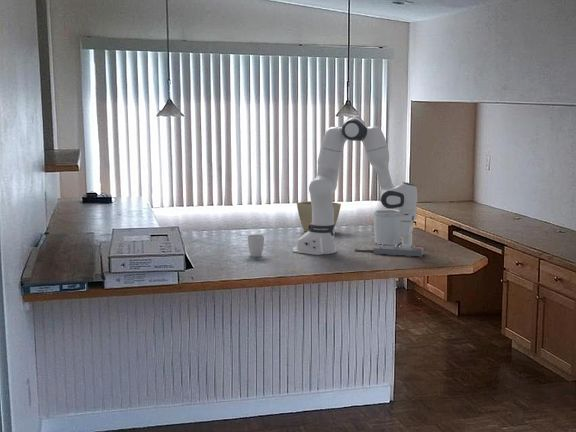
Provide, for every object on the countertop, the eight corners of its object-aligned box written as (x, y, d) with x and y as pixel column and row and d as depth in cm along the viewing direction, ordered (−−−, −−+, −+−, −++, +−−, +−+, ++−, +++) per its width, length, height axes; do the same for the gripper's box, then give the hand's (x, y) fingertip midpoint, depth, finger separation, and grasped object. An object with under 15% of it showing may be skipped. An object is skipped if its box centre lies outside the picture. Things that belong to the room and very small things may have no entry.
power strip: (352, 252, 361) (353, 244, 360) (356, 249, 369) (356, 241, 368) (421, 257, 351) (421, 248, 350) (423, 253, 359) (423, 245, 358)
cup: (267, 255, 354) (267, 235, 353) (258, 258, 347) (258, 238, 346) (253, 253, 358) (253, 233, 357) (244, 256, 351) (244, 236, 350)
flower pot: (319, 227, 432) (319, 199, 430) (341, 231, 418) (341, 203, 415) (295, 230, 420) (295, 202, 418) (317, 235, 406) (317, 206, 403)
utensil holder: (387, 246, 375) (388, 214, 373) (367, 242, 387) (368, 210, 384) (406, 243, 385) (407, 211, 382) (386, 239, 396) (386, 208, 393)
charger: (401, 249, 355) (402, 232, 354) (402, 247, 359) (403, 231, 358) (410, 249, 354) (411, 233, 353) (411, 248, 358) (412, 231, 357)
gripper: (404, 211, 365) (403, 238, 367) (398, 217, 345) (397, 245, 348) (416, 212, 363) (415, 238, 365) (411, 218, 344) (410, 246, 346)
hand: (406, 242), depth 356 cm, fingers open, 7 cm apart
